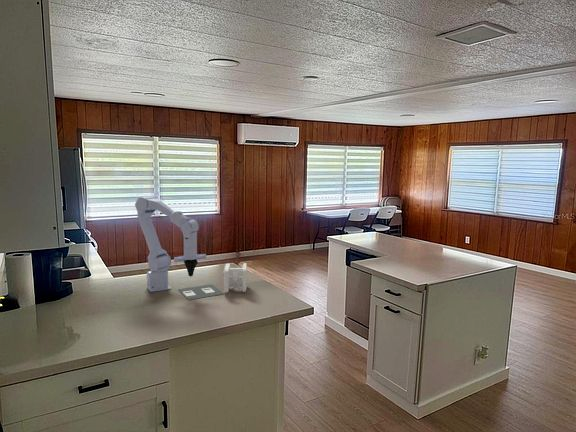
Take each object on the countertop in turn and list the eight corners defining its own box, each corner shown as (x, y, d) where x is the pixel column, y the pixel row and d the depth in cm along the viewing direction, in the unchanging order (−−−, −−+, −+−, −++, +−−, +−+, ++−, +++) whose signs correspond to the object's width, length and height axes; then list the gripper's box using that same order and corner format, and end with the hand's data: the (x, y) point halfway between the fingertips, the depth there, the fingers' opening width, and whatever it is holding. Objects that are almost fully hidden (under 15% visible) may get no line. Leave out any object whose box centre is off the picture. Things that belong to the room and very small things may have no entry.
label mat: (188, 300, 173) (188, 299, 173) (177, 289, 186) (177, 289, 186) (224, 294, 181) (224, 293, 181) (211, 284, 195) (211, 284, 195)
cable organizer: (246, 295, 180) (246, 270, 179) (222, 295, 179) (223, 270, 178) (246, 285, 195) (247, 262, 194) (224, 285, 194) (225, 262, 193)
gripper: (176, 250, 171) (177, 280, 173) (208, 246, 179) (208, 275, 181) (172, 246, 177) (172, 276, 179) (203, 244, 185) (203, 272, 187)
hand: (190, 275), depth 180 cm, fingers closed
